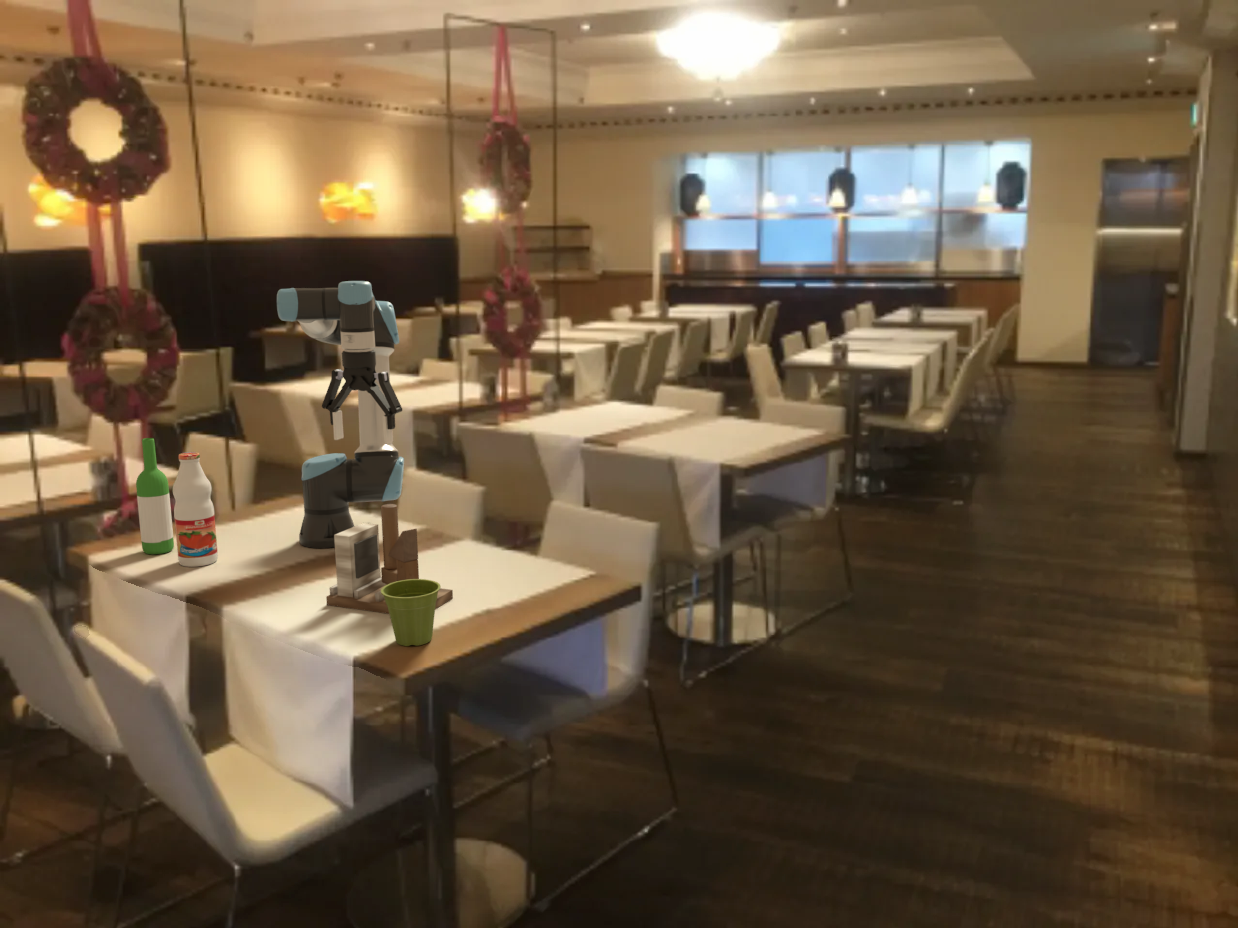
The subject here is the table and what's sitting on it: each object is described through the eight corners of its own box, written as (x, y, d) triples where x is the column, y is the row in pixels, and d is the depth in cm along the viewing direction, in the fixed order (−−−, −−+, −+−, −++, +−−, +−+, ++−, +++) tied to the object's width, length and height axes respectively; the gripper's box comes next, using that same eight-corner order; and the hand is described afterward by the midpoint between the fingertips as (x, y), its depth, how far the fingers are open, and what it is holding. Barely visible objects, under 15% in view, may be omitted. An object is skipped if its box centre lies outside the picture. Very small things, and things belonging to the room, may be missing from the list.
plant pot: (400, 628, 228) (398, 576, 225) (452, 633, 224) (450, 581, 222) (372, 648, 217) (369, 594, 214) (426, 654, 213) (424, 599, 211)
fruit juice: (214, 554, 282) (205, 448, 276) (221, 563, 274) (212, 455, 268) (176, 560, 277) (166, 452, 272) (181, 569, 269) (171, 458, 264)
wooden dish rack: (363, 586, 255) (359, 520, 252) (452, 598, 246) (450, 530, 243) (326, 604, 242) (322, 535, 239) (419, 618, 234) (416, 546, 230)
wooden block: (405, 593, 238) (401, 514, 234) (381, 582, 246) (377, 505, 242) (420, 590, 240) (416, 511, 236) (395, 579, 248) (391, 502, 244)
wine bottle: (180, 550, 286) (169, 438, 280) (151, 557, 280) (140, 442, 274) (165, 545, 291) (155, 435, 285) (136, 551, 285) (125, 439, 279)
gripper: (302, 349, 249) (308, 440, 254) (396, 354, 240) (401, 447, 245) (322, 345, 256) (328, 434, 261) (414, 350, 247) (418, 441, 252)
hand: (363, 441), depth 253 cm, fingers open, 13 cm apart
